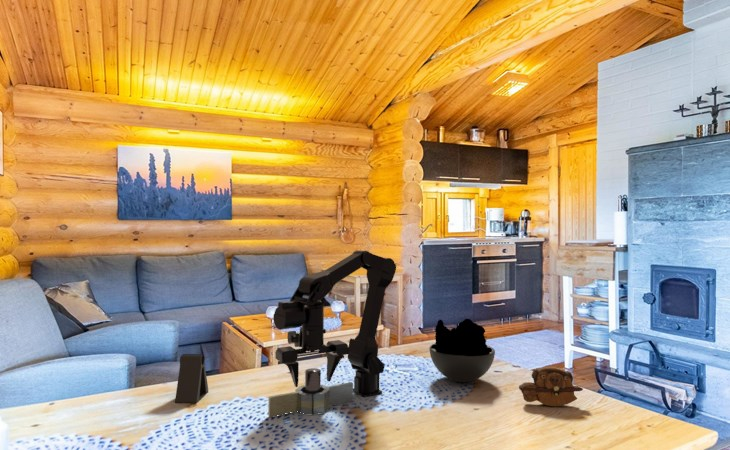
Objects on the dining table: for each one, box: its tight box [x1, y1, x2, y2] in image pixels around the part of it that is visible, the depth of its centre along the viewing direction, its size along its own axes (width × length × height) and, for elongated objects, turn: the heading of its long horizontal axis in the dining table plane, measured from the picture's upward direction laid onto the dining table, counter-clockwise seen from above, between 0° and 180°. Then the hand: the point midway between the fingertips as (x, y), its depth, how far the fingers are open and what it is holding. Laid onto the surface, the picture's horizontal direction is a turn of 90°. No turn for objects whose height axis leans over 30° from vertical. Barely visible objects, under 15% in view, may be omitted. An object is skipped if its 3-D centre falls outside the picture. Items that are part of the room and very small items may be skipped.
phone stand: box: [174, 353, 209, 404], centre depth 136 cm, size 9×6×12 cm, turn 177°
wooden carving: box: [518, 366, 584, 407], centre depth 131 cm, size 16×5×10 cm, turn 89°
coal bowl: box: [428, 318, 496, 383], centre depth 152 cm, size 20×20×19 cm
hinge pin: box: [304, 367, 322, 394], centre depth 128 cm, size 4×4×10 cm
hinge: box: [267, 381, 354, 418], centre depth 128 cm, size 24×8×5 cm, turn 120°
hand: (312, 383), depth 128 cm, fingers open, 9 cm apart
